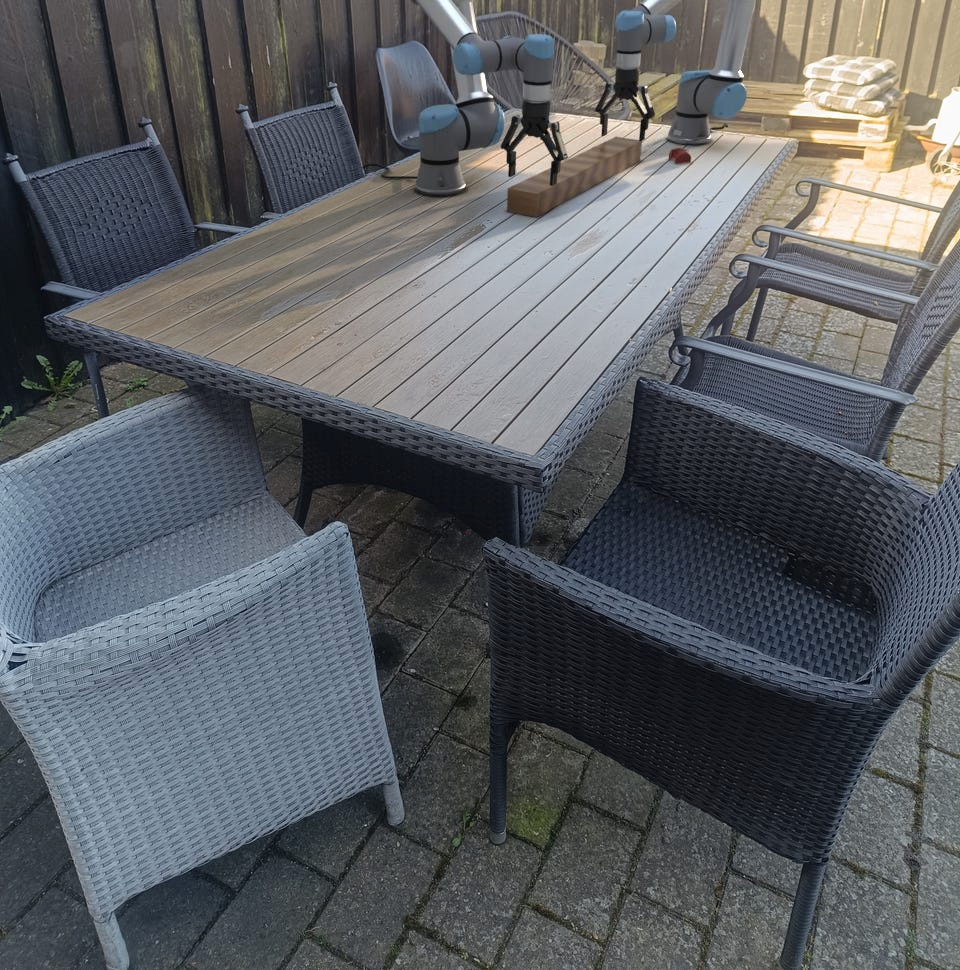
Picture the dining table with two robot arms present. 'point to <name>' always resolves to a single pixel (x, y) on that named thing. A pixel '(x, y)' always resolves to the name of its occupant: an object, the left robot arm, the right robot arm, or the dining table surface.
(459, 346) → the dining table surface
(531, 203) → the wooden beam
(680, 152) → the dark red lumpy piece
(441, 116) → the left robot arm
